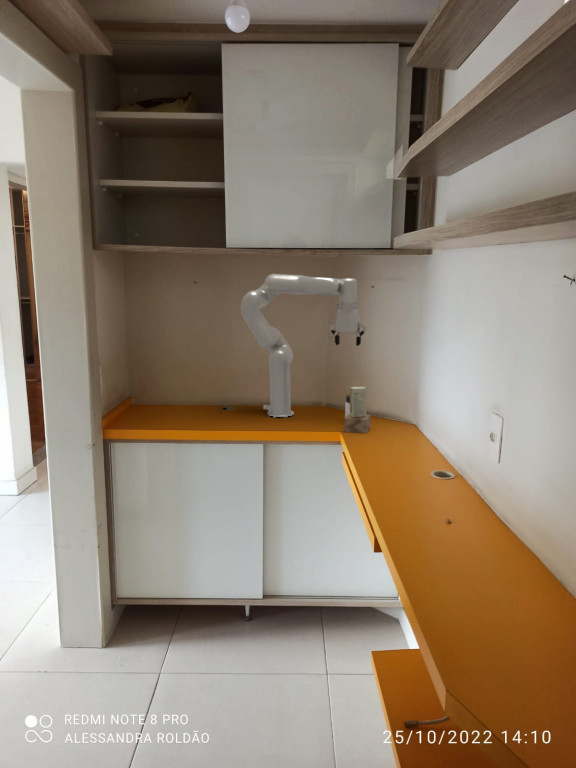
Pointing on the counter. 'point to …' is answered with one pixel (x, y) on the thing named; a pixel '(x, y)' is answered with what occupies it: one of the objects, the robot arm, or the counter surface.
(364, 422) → the brown square block
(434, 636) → the counter surface
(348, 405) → the jar
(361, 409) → the skincare box
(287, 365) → the robot arm
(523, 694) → the counter surface
